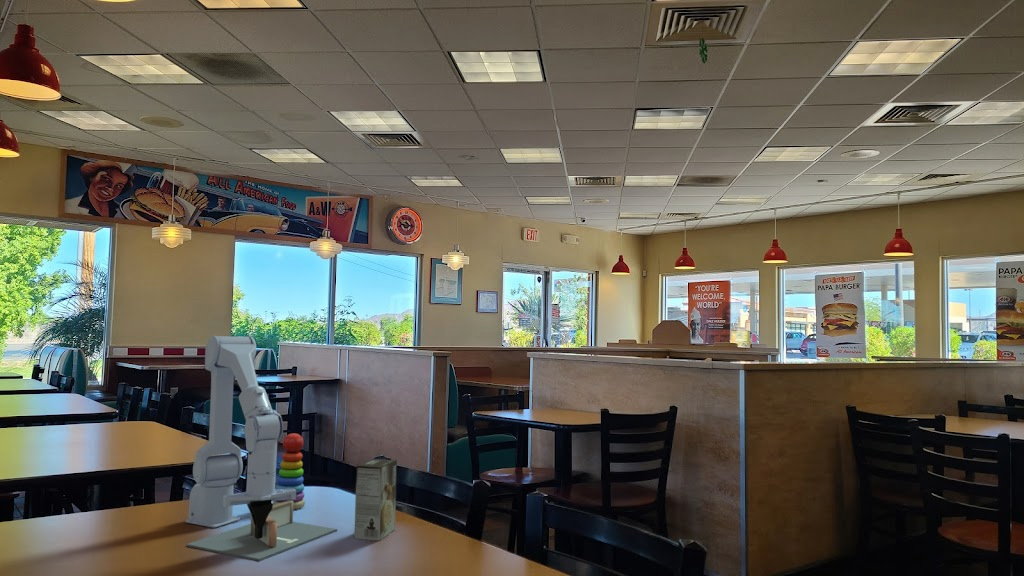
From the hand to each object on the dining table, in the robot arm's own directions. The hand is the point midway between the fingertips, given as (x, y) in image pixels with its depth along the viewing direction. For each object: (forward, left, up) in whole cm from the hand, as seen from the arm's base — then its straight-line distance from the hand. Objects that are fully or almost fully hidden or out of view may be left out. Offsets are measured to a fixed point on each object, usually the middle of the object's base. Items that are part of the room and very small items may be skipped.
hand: (258, 537), depth 148 cm
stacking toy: (-17, +28, -2) cm, 33 cm away
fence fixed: (-6, +11, -2) cm, 12 cm away
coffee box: (+16, +19, -2) cm, 25 cm away
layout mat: (-3, +5, -2) cm, 6 cm away
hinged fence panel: (0, +2, -1) cm, 3 cm away
